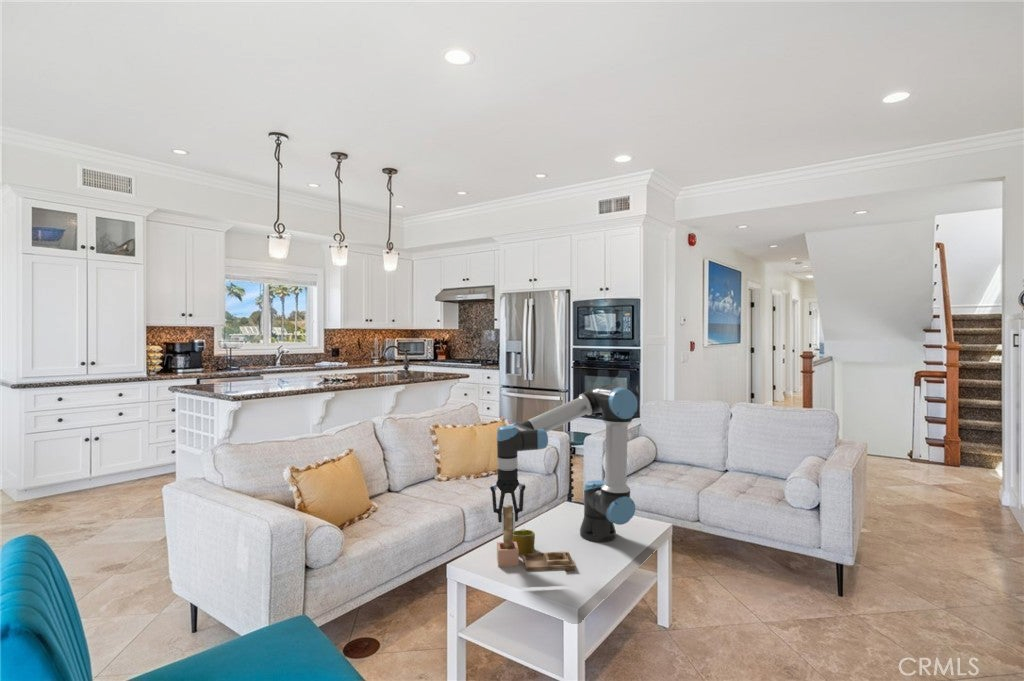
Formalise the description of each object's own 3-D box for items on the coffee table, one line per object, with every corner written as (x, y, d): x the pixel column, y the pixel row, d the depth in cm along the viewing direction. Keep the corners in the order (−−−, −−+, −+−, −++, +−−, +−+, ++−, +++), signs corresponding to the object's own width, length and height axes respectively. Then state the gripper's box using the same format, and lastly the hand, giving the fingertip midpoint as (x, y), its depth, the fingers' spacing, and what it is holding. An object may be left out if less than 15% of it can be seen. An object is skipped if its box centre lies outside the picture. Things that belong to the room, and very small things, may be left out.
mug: (536, 555, 205) (529, 528, 207) (511, 561, 207) (505, 535, 209) (543, 549, 216) (536, 523, 219) (519, 555, 218) (513, 529, 221)
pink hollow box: (516, 559, 205) (516, 541, 205) (518, 568, 198) (518, 549, 197) (496, 560, 204) (496, 542, 204) (498, 569, 197) (498, 550, 197)
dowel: (512, 546, 203) (512, 504, 203) (513, 550, 199) (513, 508, 199) (503, 547, 203) (502, 505, 202) (503, 551, 199) (503, 508, 199)
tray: (568, 557, 207) (568, 549, 207) (575, 571, 195) (575, 562, 195) (522, 559, 206) (522, 551, 205) (526, 573, 194) (526, 564, 194)
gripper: (528, 464, 205) (528, 525, 205) (484, 466, 203) (485, 527, 204) (530, 469, 197) (531, 533, 198) (485, 471, 196) (486, 535, 196)
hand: (508, 530), depth 201 cm, fingers closed on dowel, 3 cm apart
